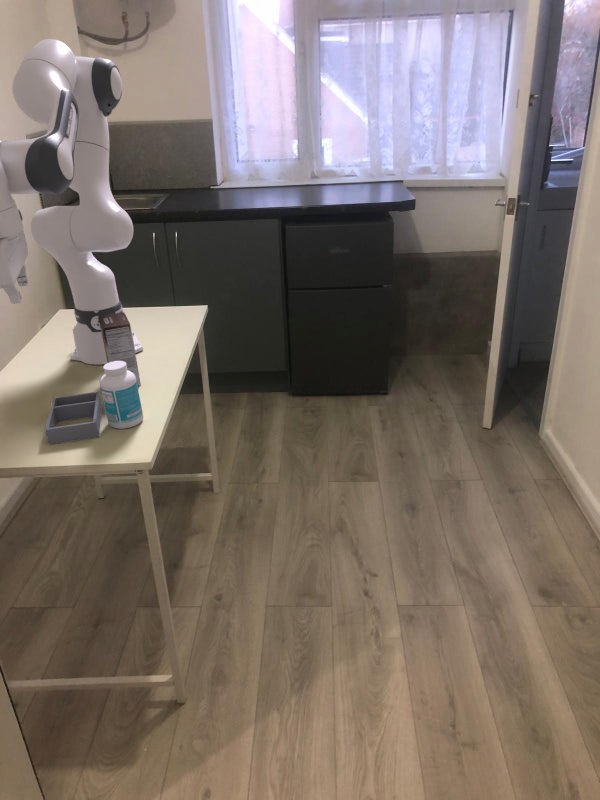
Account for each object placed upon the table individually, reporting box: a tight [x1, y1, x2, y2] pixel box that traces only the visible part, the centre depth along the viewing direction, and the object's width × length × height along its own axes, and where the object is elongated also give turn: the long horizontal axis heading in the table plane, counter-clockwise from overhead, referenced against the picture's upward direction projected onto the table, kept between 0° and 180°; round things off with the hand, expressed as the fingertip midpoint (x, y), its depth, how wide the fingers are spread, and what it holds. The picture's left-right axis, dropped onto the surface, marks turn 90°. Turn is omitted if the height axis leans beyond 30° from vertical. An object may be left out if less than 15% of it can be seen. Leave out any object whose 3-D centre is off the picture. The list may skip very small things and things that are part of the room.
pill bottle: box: [99, 361, 144, 430], centre depth 137 cm, size 8×7×14 cm
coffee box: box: [98, 311, 142, 387], centre depth 155 cm, size 9×6×16 cm
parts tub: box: [44, 391, 103, 445], centre depth 139 cm, size 15×10×4 cm, turn 13°
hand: (20, 293), depth 128 cm, fingers open, 8 cm apart
